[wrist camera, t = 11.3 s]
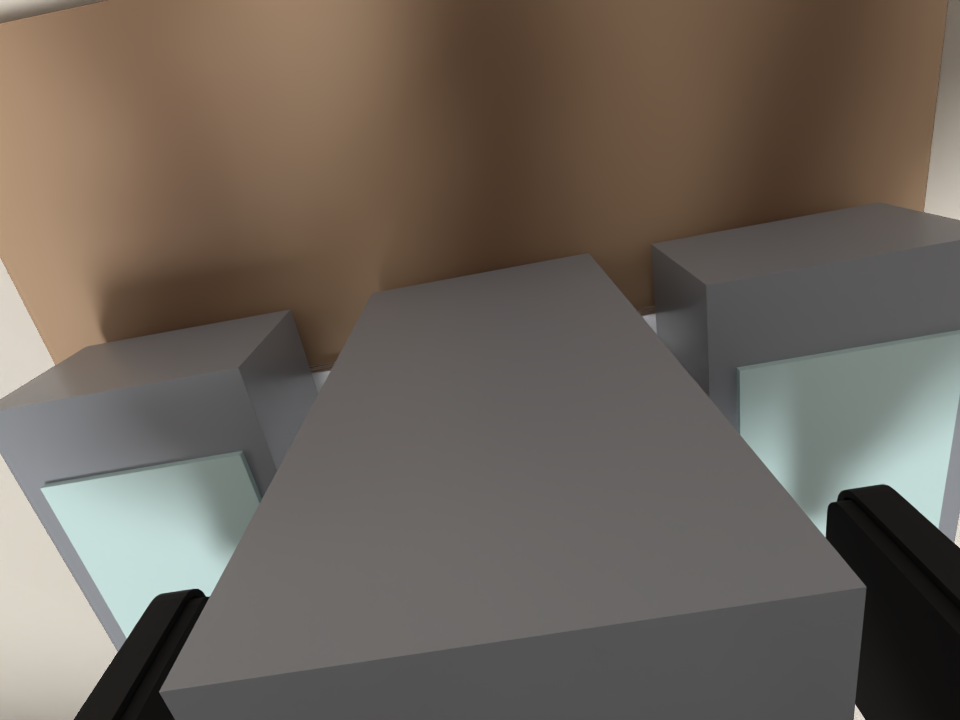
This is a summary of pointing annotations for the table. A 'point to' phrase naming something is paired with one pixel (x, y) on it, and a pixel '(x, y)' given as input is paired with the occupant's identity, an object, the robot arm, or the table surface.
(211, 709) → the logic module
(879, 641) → the robot arm
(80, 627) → the table surface
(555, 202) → the board
